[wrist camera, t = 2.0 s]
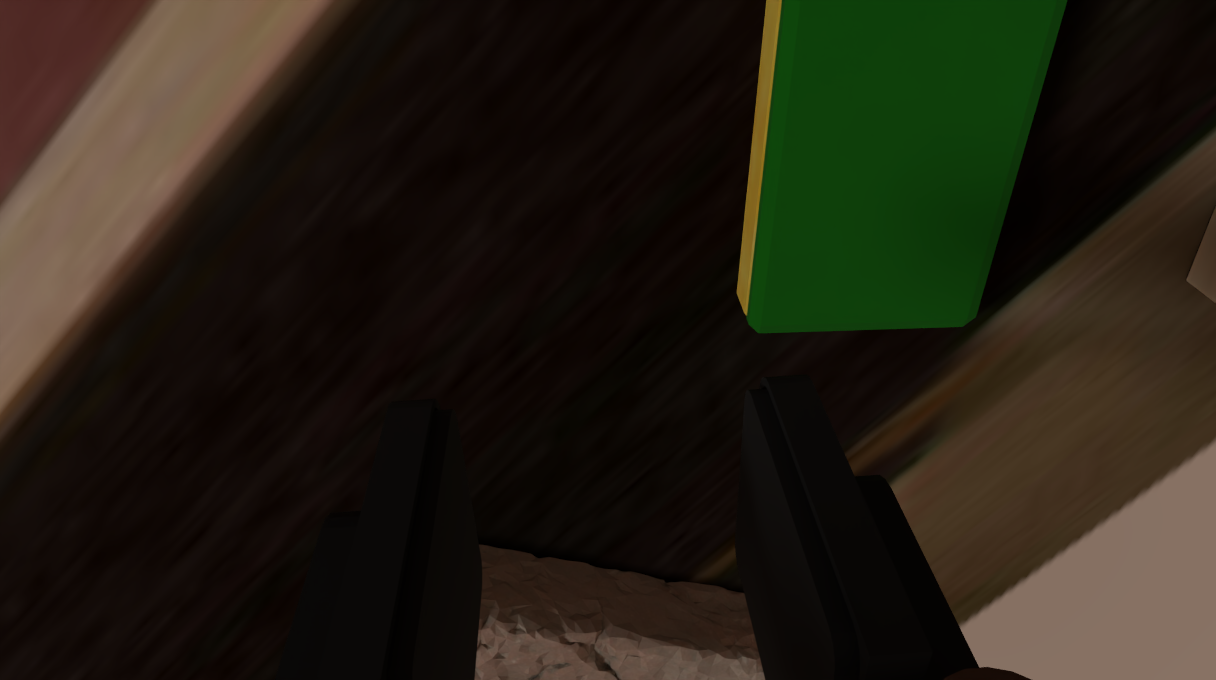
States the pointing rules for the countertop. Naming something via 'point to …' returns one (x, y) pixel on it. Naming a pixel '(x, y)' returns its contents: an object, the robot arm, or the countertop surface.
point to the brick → (606, 624)
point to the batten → (1205, 263)
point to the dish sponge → (886, 157)
